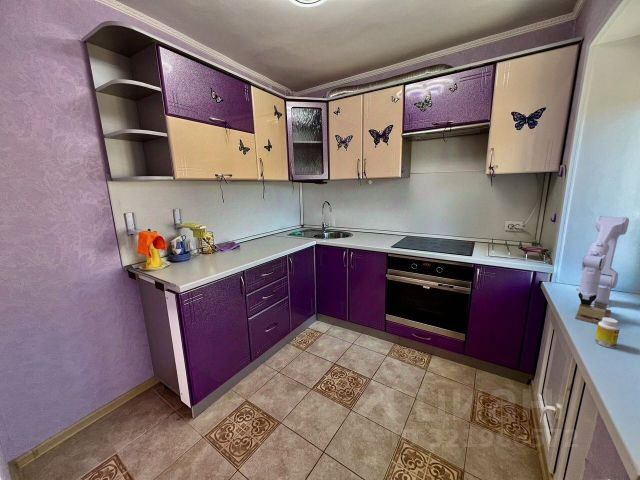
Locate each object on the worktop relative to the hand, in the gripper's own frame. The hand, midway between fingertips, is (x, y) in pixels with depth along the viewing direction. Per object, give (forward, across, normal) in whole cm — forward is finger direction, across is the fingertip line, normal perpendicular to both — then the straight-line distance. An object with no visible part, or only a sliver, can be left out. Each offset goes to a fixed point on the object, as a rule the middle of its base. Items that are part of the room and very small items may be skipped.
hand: (584, 309), depth 120 cm
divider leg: (+2, +3, +2) cm, 4 cm away
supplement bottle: (+3, +23, +8) cm, 25 cm away
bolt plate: (+3, -3, +3) cm, 5 cm away
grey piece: (+2, -3, +4) cm, 6 cm away
